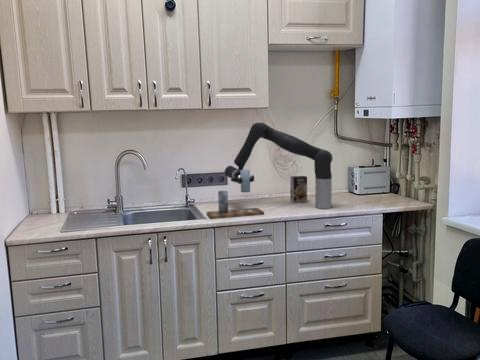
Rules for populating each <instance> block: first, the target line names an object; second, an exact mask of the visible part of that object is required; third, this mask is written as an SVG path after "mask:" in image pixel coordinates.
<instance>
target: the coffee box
mask: <svg viewBox="0 0 480 360" xmlns="http://www.w3.org/2000/svg"><path fill="white" fill-rule="evenodd" d="M289 177H290V178H289V179H290V183H289V184H290V185H289V186H290V193H289V194H290V195H289V198H290V202H291V203H293V204H298V203H307V202H308V176H306V175H293V176H292V175H291V176H289Z"/></svg>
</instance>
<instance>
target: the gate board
mask: <svg viewBox="0 0 480 360" xmlns="http://www.w3.org/2000/svg"><path fill="white" fill-rule="evenodd" d="M217 195H218V197H217V199H218V210H214V211H213V210H212V211H206V216H207V217H208V218H209V219H210V220H215V219H225V218H227V219H228V218H239V217H240V218H241V217H251V216H263V215H265V212H264V211H263V210H262V209H261V208H259V207H252V208H238V209H237V208H236V209H229V198H228V197H229V196H228V190H219V191H218V192H217Z"/></svg>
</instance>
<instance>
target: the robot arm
mask: <svg viewBox="0 0 480 360" xmlns="http://www.w3.org/2000/svg"><path fill="white" fill-rule="evenodd" d="M260 139H263V140H267V141H269V142H273V144H275V145H277V146H278V147H279V148H281V149H283V150H284V151H287V152H288V153H291V154H294V155H298V156H303V157H306V158H309V159H310V160H313V162H314V175H315V181H314V182H315V184H314V185H315V187H314V188H315V189H314V190H315V208H316V209H325V210H326V209H331V208H332V207H333V206H332V202H333V201H332V195H333V194H332V193H333V192H332V191H333V189H332V179H333V177H332V176H333V174H332V171H331V169H332V168H331V163H332V161H333V155H332V153H331V152H330V151H329V150H327V149H324V148H320V147H317V146H314V145H311V144H310V143H309V142H307V141H304V140H302V139H300V138H297V137H296V136H293V135H291V134H289V133H285V132H283V131H280V130H277V129H275V128H273V127H271V126H269V125H268V124H266V123H264V122H255V123H253V124H252V125H251V127H250V130H249V132H248V134H247V137H246V139H245V142H244V144H242V146H241V149H240V150H239V152H238V153H237V155H236V156H235V159H234V160H233V164H235V165H236V166H237V167H238V168H236V167H234V166H232V165H228V166H227V167H225V168H224V174H225V176H226V177H228V178H230V182H233V183H237V184H239V185H241V183H242V179H241V173H240V170H244V167H245V166H246V164H247V162H248V161H249V158H250V157H251V155H252V151H253V149H254V147H255V145H256V144H257V142H258V141H259V140H260ZM254 181H255V176H254V174H253V175H252V174H251V175H250V183H253V182H254Z"/></svg>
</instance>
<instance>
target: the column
mask: <svg viewBox="0 0 480 360" xmlns="http://www.w3.org/2000/svg"><path fill="white" fill-rule="evenodd" d="M240 173H241V179H242V183H241V184H240V192H241V193H250V192H251V182H250V177H251V170H250V169H243V170H240Z"/></svg>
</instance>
